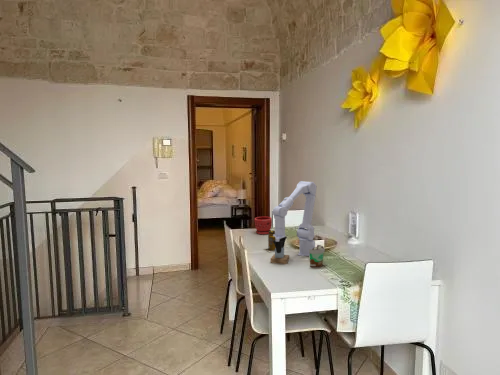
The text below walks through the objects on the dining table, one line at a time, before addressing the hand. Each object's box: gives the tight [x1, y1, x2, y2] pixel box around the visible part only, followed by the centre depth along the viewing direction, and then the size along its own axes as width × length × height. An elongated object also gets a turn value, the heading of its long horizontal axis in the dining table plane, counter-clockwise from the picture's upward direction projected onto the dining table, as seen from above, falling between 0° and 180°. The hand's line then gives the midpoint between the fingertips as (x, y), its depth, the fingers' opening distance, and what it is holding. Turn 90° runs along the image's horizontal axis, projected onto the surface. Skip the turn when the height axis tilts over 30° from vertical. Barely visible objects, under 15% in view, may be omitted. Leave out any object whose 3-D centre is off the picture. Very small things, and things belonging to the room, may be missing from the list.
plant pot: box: [254, 216, 273, 236], centre depth 278 cm, size 13×13×12 cm
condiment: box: [263, 230, 276, 253], centre depth 231 cm, size 7×8×12 cm
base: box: [270, 253, 290, 265], centre depth 208 cm, size 9×9×2 cm
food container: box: [309, 244, 326, 268], centre depth 198 cm, size 12×6×10 cm, turn 148°
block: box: [274, 246, 285, 258], centre depth 208 cm, size 4×4×5 cm
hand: (280, 251), depth 208 cm, fingers open, 7 cm apart
